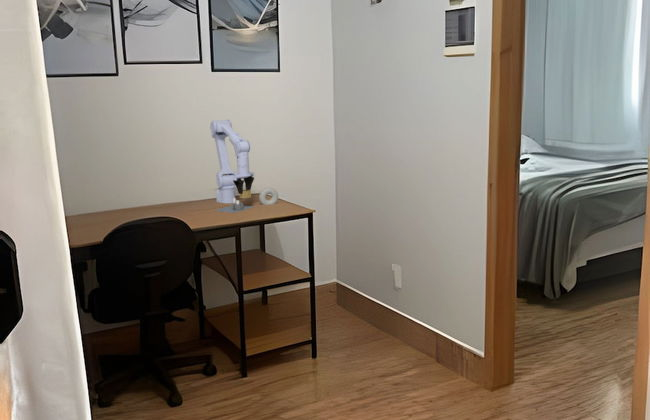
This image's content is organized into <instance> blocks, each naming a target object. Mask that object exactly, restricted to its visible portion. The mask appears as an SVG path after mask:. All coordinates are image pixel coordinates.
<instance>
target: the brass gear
mask: <svg viewBox="0 0 650 420" xmlns="http://www.w3.org/2000/svg"><path fill="white" fill-rule="evenodd" d="M239 198H240V199H249V198H252V189H251V190H250V189H249V190H248V189H246V188H245V189H243V194H239Z"/></svg>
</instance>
